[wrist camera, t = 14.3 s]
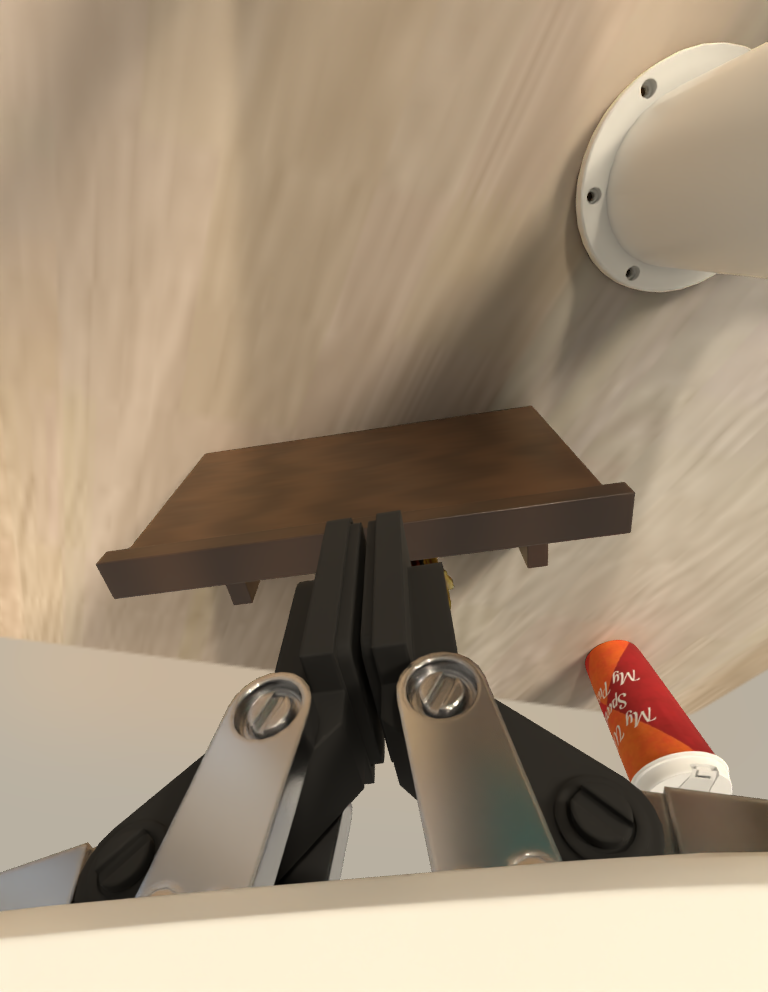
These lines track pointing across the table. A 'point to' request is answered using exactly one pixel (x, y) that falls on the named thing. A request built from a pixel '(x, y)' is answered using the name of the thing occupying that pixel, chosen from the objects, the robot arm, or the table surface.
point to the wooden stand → (370, 502)
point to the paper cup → (651, 724)
